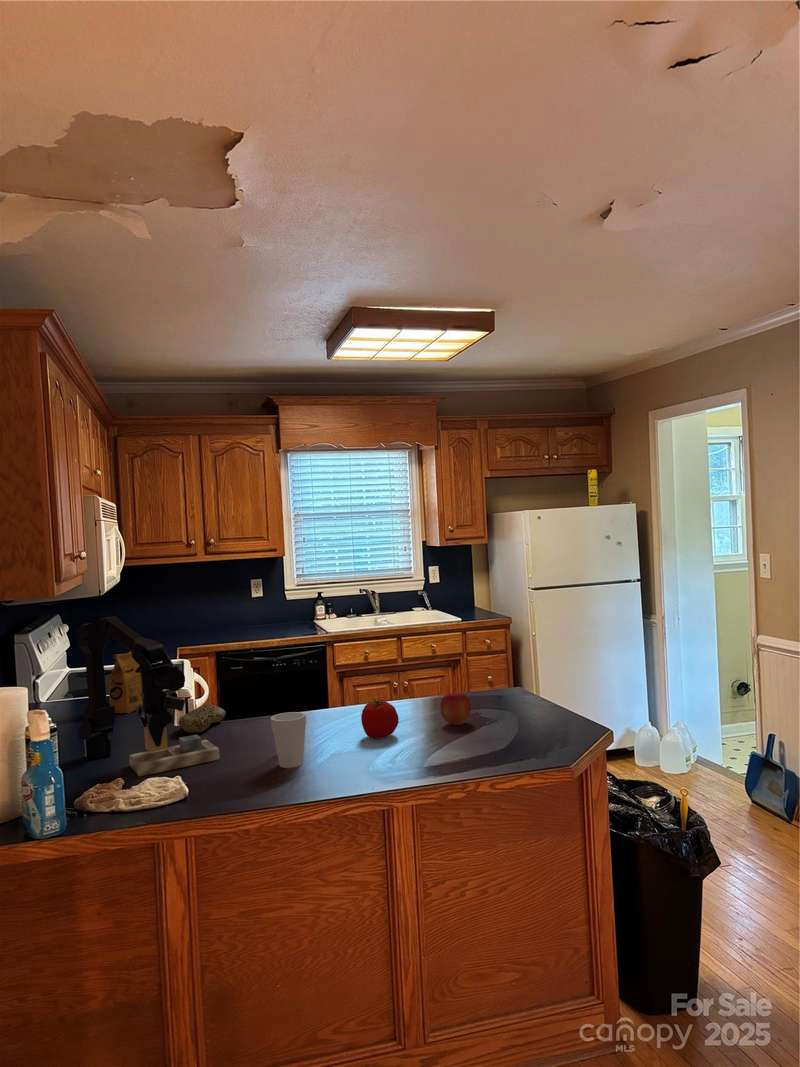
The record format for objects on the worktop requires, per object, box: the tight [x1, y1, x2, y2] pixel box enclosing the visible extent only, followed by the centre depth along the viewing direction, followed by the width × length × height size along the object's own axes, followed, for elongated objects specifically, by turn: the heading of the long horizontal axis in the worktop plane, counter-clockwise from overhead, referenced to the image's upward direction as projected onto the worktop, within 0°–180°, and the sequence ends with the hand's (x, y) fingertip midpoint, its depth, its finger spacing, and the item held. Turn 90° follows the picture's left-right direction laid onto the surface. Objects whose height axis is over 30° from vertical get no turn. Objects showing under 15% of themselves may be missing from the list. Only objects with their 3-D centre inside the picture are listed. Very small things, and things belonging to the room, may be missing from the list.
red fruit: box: [360, 698, 399, 739], centre depth 226 cm, size 12×12×11 cm
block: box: [143, 726, 169, 753], centre depth 212 cm, size 5×5×6 cm
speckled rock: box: [178, 704, 227, 734], centre depth 251 cm, size 13×8×20 cm
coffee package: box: [107, 650, 142, 715], centre depth 286 cm, size 10×12×22 cm
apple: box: [439, 691, 472, 726], centre depth 236 cm, size 10×10×10 cm
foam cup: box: [270, 711, 307, 769], centre depth 205 cm, size 10×9×13 cm
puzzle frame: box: [128, 733, 221, 777], centre depth 214 cm, size 22×12×6 cm, turn 121°
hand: (155, 744), depth 212 cm, fingers closed on block, 5 cm apart
